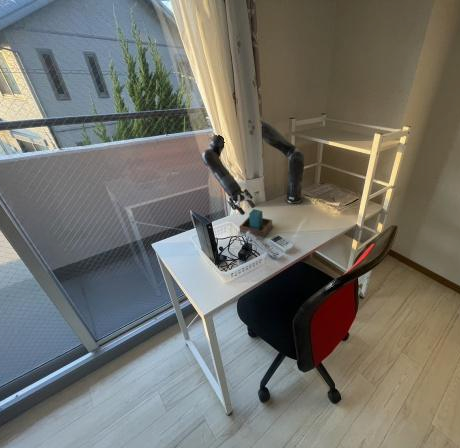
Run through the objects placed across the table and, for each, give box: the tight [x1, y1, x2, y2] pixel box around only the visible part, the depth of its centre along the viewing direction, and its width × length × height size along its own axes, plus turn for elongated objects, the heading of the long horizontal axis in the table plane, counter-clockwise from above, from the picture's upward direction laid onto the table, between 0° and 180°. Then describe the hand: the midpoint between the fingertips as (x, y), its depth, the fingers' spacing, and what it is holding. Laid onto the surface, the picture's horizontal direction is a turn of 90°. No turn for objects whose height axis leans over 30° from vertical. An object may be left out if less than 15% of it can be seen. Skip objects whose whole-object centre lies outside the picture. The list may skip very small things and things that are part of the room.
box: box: [239, 216, 273, 239], centre depth 129 cm, size 12×13×4 cm
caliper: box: [245, 230, 276, 258], centre depth 115 cm, size 20×1×6 cm, turn 46°
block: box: [248, 208, 264, 230], centre depth 127 cm, size 5×5×10 cm
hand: (249, 210), depth 126 cm, fingers open, 8 cm apart
